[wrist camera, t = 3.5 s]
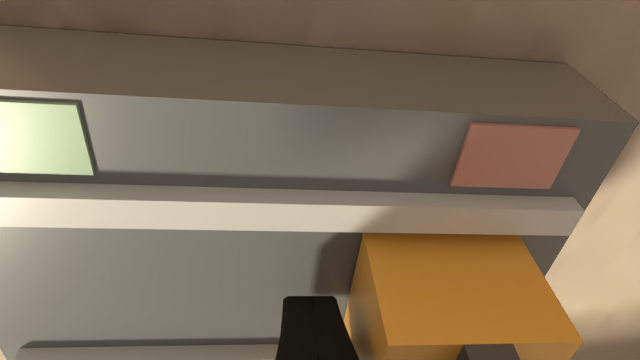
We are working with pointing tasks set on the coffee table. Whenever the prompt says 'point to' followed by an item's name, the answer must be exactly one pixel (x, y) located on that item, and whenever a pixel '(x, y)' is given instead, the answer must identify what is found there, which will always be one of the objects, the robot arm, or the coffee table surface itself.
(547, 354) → the breaker toggle
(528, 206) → the breaker deck
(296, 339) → the robot arm
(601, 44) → the coffee table surface
